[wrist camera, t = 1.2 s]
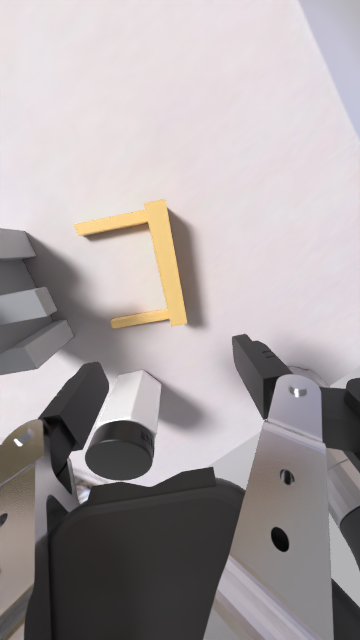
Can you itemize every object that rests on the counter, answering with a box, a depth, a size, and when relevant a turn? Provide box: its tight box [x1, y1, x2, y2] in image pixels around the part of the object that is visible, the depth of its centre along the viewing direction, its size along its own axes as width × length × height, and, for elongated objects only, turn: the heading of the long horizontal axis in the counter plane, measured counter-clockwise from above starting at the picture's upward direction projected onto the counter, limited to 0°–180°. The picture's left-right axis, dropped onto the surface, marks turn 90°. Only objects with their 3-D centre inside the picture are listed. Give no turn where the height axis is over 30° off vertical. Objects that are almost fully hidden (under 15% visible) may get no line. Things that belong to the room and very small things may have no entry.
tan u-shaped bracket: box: [74, 199, 187, 329], centre depth 22 cm, size 11×14×4 cm
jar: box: [85, 370, 161, 480], centre depth 27 cm, size 9×8×12 cm
